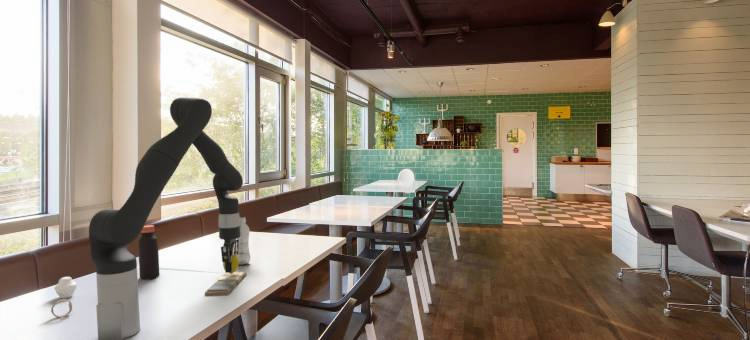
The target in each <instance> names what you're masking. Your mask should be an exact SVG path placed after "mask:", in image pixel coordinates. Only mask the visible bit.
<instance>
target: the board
mask: <svg viewBox="0 0 750 340" xmlns="http://www.w3.org/2000/svg"><path fill="white" fill-rule="evenodd" d="M246 277H247V272H244V271H240V272H239V271H238V272H237V271H234V272H233V273H232V274H230V273H226V272H225V273H224V274H223V275H222V276H221V277H220V278H219V279H217V281H215V282H214V283H213V284H212V285H211V286H209V288H207V290H206V291H205V292H204V296H223V295H224V296H227V295H230V294H232V292H233V290H235V288H237V286H238V285H239V284H240V283H241V282H242V281H243V280H244V278H246Z"/></svg>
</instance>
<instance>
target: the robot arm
mask: <svg viewBox="0 0 750 340" xmlns="http://www.w3.org/2000/svg"><path fill="white" fill-rule="evenodd" d="M212 110H213V109H212V105H211V103H210V101H208V100H207V99H205V98H203V97H178V98H175V99H174V100H172V102H171V104H170V106H169V113H170V116H171V119H172V121H173V122H174V123H175V124H176V126H177V127H175V129H174V130H172V131H171V132H170V133H168V134H166V135H165V136H163V137H161V138H160V139H159V140H157V141H156V142H155V143H153V144H152V145H151V146H150V147H149V148H148V149H147V150H146V152H145V153H144V154H143V156H142V157H141V159H140V160H139V162H138V163H137V166H136V169H135V173H134V174H135V175H134V176H135V177H134V186H133V189H132V192H131V193H130V195H129V196H128V198H127V199H126V201H125V202H124V204H123V205H122V206H121V207H120V208H119V209H112V208H110V209H107V208H106V209H102V210H99V211H98V212H96V213H95V214H94V215H93V216H92V217H91V220H90V221H89V225H88V239H89V247H90V249H89V250H90V257H91V261H92V263H93V266H94V267H95V274H96V275H95V276H96V291H97V292H96V293H97V296H96V297H97V304H96V307H95V308H96V321H97V323H96V324H97V339H98V340H125V339H127V338H129V337H132V336H133V335H136V334H137V333H139V332H140V330H141V320H140V318H141V317H140V300H139V299H140V298H139V283H138V282H139V281H138V263H137V262H138V261H137V257H136V256H135V255H134V254H132V253H131V252H130V251H129V249H128V247H126V246H127V245H130V244H131V243H134V241H136V240H137V238H138V237H139V236H140V235H141V231H142V229H143V227H144V226H146V223H147V220H148V218H149V216H150V214H151V213H152V210H153V208H154V206H155V204H156V202H157V200H158V199H159V197H160V196H161V194H162V192H163V190H164V189H165V187H166V185H167V184H168V182H169V181H170V180H171V178H172V176H173V175H174V174H175V172H176V170H177V168H178V167H179V165H180V163H181V161H182V160H183V158H184V157H185V156H186V153H187V152H188V151H189V149H190V147H191V146H192V145H193V146H194V147H195V149H196V150H197V151H198V152H199V154H200V155H201V157H202V158H203V161H204V162H205V165H207V168H208V170H209V171H210V172H211V173H212V174H214V176H213V178H212V187H213V190H214V193H215V197H216V199H217V202H218V237H219V239H220V240H223V241H224V242H223V244H222V246H221V247H220V252H221V262H222V263H223V262H224V263H225V269H224V271H225V273H231V272H232V256H233V255H234V254H235V255H236V256H237V255H238V254H239V239H236V238H239V237H240V217H241V216H240V212H239V211H240V209H239V208H240V207H239V206H240V205H239V203H240V202H239V200H238V198H237V197H235V196H232V195H230V194H229V192H231V191H232V192H234V191H239V190H240V189H241V188H242V187H243V184H244V183H243V182H244V181H243V179H244V178H243V176H242V174H241V173H240V171H239V170H238V169H237V168H236V167H235V166H234V165H233V164H232V163H231V162H230V161H229V160H228V157H227V155H226V153H225V152H224V149H222V147H221V146H220V144H218V143H217V142H216V141H215V140H214V139H213V138H212V137H210V135H208V134H207V133H206V132H205V131H204V129H206V127H207V125H208V124H209V122H210V121H211V118H212V114H213V113H212V112H213V111H212ZM229 253H230V254H229ZM227 258H228V259H227Z"/></svg>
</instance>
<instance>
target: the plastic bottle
mask: <svg viewBox="0 0 750 340" xmlns="http://www.w3.org/2000/svg"><path fill="white" fill-rule="evenodd" d="M239 217H240V237H239V238H236V239H239V254H238V255H237V258H238V261H239V265H240V266H244V265H248V264H249V263H250V261H251V253H250V247H249V238H250V227H249V226H248V224H246V223H247V220H246V217H245V216H243V217H241V216H239ZM239 265H238V266H239Z"/></svg>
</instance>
